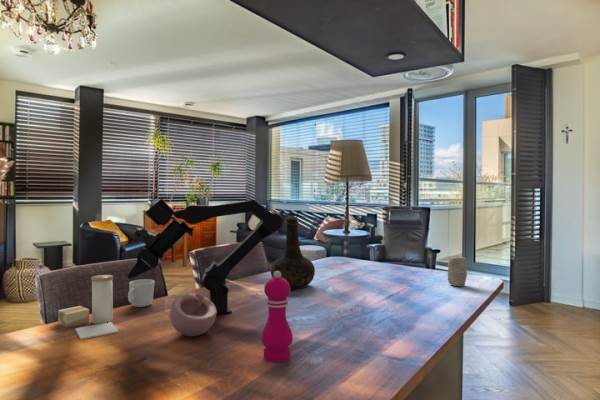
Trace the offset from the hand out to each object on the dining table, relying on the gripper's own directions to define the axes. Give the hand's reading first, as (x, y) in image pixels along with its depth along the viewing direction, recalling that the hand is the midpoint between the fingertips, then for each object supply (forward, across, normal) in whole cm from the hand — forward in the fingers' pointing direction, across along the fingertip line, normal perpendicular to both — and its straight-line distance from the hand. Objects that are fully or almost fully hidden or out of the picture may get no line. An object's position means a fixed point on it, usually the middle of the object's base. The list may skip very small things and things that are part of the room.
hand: (131, 274), depth 116 cm
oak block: (+20, 0, -1) cm, 21 cm away
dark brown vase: (-30, -27, +50) cm, 64 cm away
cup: (+9, -13, +10) cm, 19 cm away
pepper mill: (-17, +37, +36) cm, 55 cm away
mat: (+15, +9, +4) cm, 18 cm away
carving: (-77, -13, +97) cm, 125 cm away
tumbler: (+15, 0, +4) cm, 15 cm away
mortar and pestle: (-3, +18, +23) cm, 29 cm away
